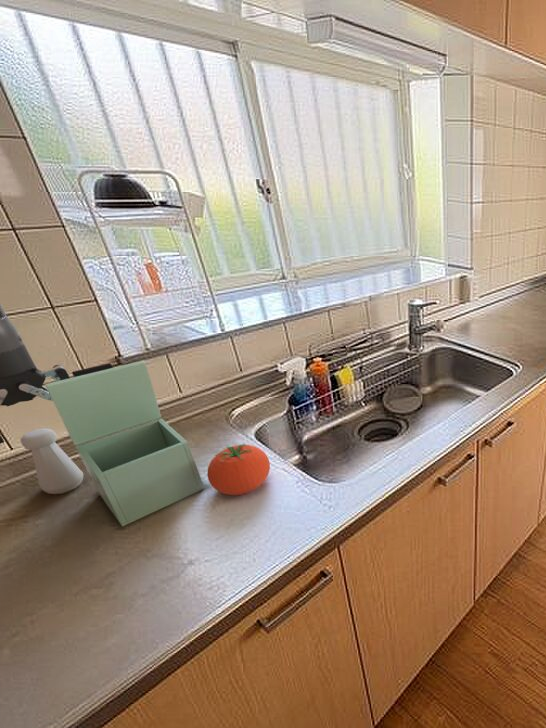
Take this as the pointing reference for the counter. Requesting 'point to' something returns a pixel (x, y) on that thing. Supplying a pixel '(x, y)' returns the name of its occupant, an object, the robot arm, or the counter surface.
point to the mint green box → (141, 469)
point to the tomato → (238, 469)
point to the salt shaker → (51, 462)
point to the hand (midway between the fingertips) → (36, 430)
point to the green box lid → (104, 400)
